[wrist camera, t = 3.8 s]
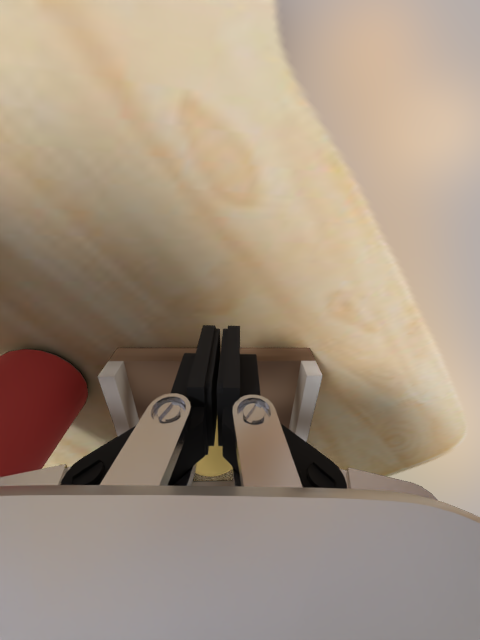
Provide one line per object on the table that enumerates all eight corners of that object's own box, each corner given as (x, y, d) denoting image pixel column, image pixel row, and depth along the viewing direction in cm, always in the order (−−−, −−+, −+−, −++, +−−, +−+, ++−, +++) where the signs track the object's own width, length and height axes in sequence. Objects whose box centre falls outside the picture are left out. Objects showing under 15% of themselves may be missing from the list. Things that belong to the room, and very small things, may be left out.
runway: (117, 348, 18) (79, 401, 13) (309, 348, 18) (334, 399, 14) (156, 494, 27) (142, 553, 23) (281, 492, 28) (290, 549, 23)
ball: (178, 377, 17) (160, 443, 13) (249, 377, 17) (255, 442, 13) (184, 425, 20) (171, 494, 15) (246, 424, 20) (251, 492, 15)
